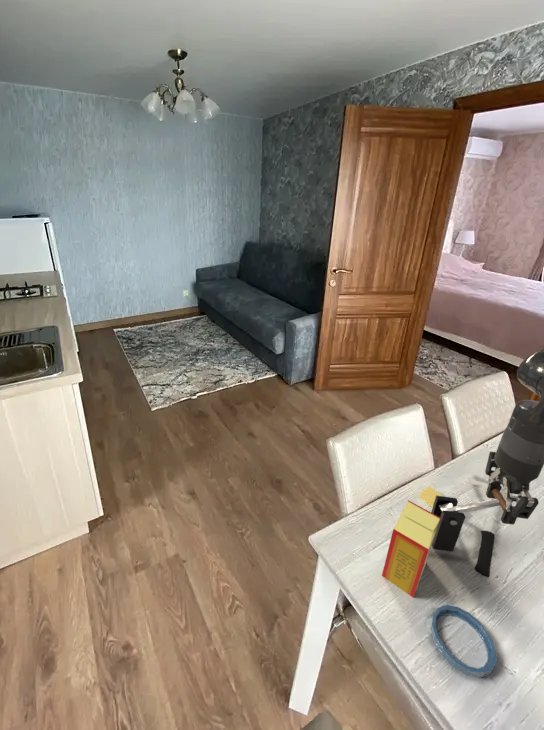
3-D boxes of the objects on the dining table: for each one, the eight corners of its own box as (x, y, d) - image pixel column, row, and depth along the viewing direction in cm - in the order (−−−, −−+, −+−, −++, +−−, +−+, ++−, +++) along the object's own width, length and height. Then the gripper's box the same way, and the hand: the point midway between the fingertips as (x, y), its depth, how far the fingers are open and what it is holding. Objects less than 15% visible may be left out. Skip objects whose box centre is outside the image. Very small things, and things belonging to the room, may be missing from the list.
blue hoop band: (476, 619, 69) (480, 610, 68) (503, 687, 59) (508, 678, 58) (422, 609, 70) (425, 600, 69) (440, 674, 61) (443, 665, 60)
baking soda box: (412, 601, 72) (428, 549, 65) (380, 579, 76) (393, 528, 69) (425, 566, 78) (441, 516, 72) (395, 548, 82) (408, 498, 76)
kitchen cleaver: (469, 475, 102) (511, 490, 95) (468, 480, 102) (510, 495, 96) (443, 554, 80) (496, 581, 73) (442, 559, 80) (495, 586, 74)
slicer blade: (500, 494, 78) (497, 486, 77) (514, 515, 73) (511, 507, 72) (439, 506, 82) (436, 499, 82) (448, 527, 77) (445, 519, 77)
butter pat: (427, 494, 96) (430, 486, 95) (441, 505, 93) (444, 497, 92) (418, 500, 95) (420, 491, 94) (431, 511, 91) (434, 502, 90)
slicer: (453, 532, 86) (466, 494, 81) (467, 564, 79) (482, 525, 74) (411, 525, 88) (421, 488, 83) (420, 556, 80) (432, 517, 75)
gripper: (568, 479, 63) (537, 542, 69) (522, 429, 76) (500, 485, 82) (522, 474, 64) (496, 536, 70) (485, 425, 77) (466, 481, 84)
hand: (498, 509), depth 76 cm, fingers open, 6 cm apart
